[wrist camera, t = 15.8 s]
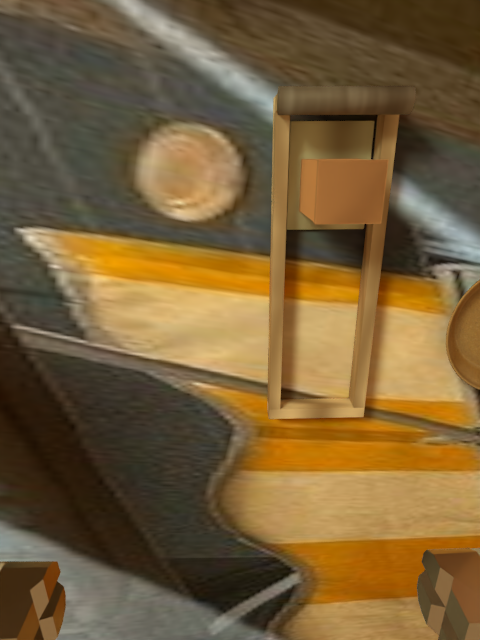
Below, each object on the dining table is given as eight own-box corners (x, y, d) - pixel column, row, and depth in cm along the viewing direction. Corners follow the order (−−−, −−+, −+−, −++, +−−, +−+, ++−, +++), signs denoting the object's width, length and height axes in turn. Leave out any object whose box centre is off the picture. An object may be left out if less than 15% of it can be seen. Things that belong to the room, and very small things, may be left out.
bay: (267, 408, 48) (271, 436, 43) (273, 93, 36) (280, 84, 32) (358, 406, 48) (372, 433, 43) (393, 92, 36) (417, 83, 32)
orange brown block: (298, 211, 40) (315, 224, 32) (301, 159, 38) (318, 160, 31) (352, 210, 40) (381, 223, 32) (357, 158, 38) (388, 159, 31)
